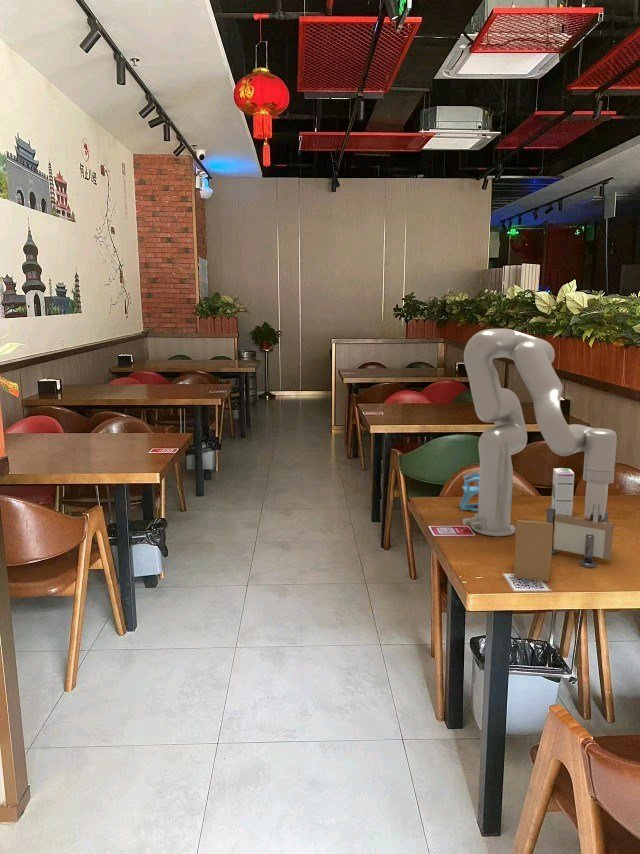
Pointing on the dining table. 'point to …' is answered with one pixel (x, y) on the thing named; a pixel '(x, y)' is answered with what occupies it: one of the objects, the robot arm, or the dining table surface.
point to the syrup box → (562, 491)
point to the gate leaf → (583, 535)
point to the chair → (470, 492)
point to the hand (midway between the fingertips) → (593, 540)
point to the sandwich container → (533, 550)
